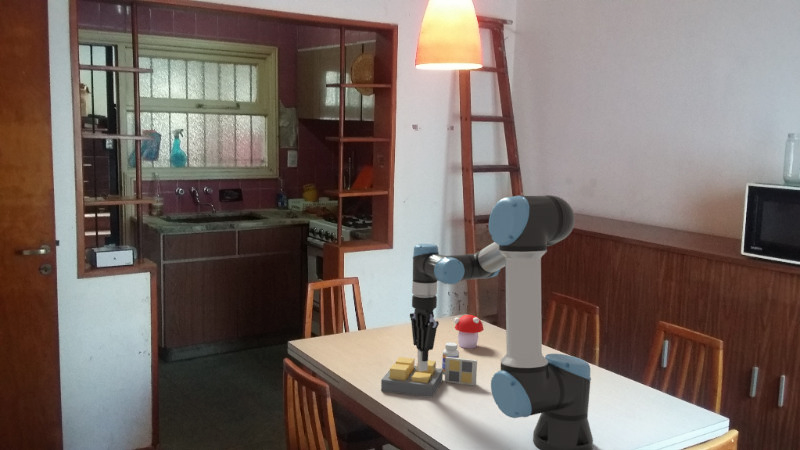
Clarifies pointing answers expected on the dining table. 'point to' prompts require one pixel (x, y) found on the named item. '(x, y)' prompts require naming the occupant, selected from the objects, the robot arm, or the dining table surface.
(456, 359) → the plaque
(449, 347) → the pill bottle
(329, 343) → the dining table surface
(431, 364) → the button
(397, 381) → the board
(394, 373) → the button
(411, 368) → the button
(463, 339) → the mushroom
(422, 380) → the button
